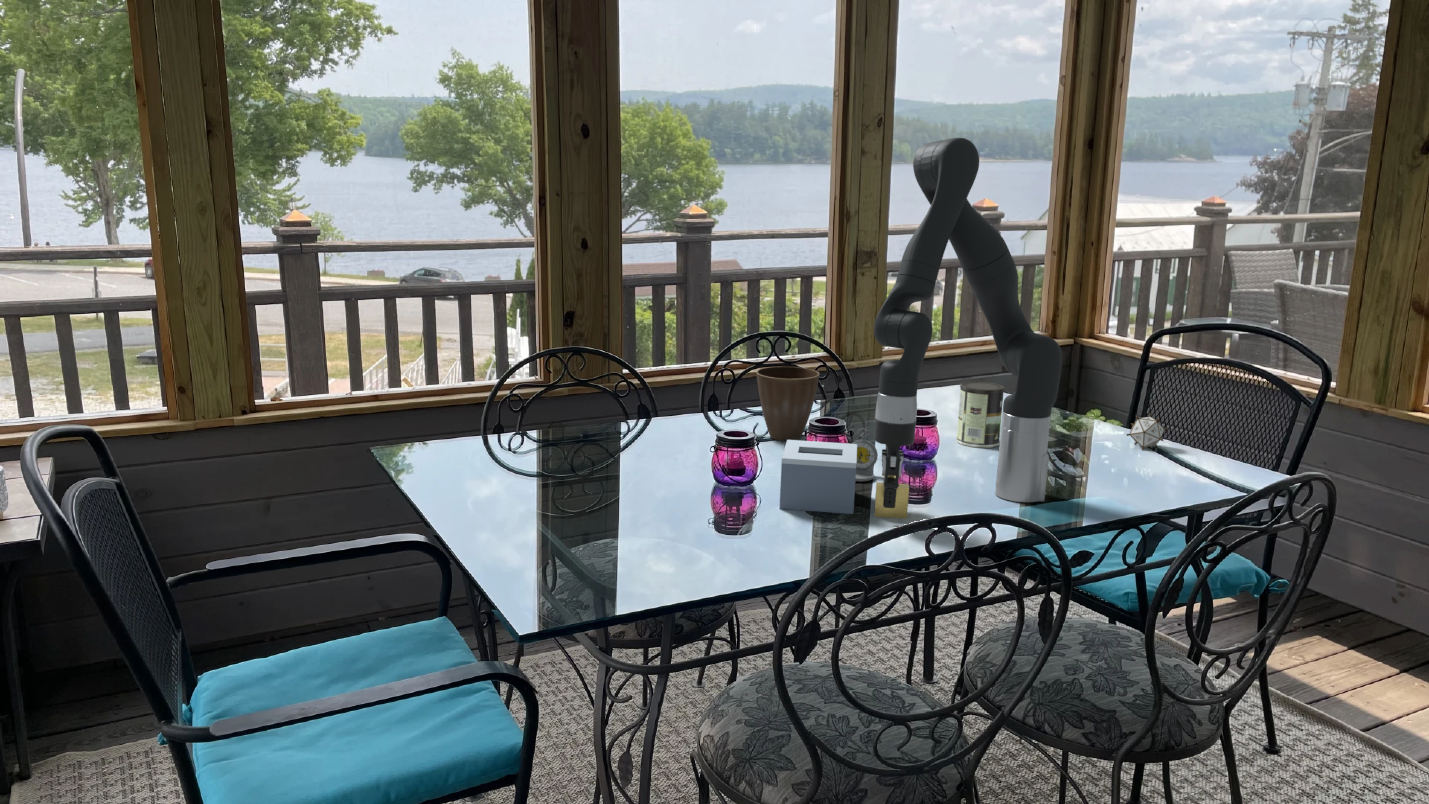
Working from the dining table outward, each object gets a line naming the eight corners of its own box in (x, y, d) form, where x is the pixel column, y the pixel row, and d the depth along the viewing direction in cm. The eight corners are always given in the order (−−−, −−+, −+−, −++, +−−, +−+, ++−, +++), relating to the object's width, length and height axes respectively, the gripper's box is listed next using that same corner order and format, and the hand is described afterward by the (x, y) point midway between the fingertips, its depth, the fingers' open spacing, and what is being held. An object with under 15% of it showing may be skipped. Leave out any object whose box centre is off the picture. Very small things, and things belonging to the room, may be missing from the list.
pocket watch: (849, 483, 219) (852, 437, 217) (834, 472, 227) (836, 427, 224) (885, 481, 221) (888, 435, 219) (869, 470, 229) (872, 425, 227)
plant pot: (794, 449, 244) (797, 381, 241) (741, 437, 253) (744, 372, 249) (827, 437, 256) (831, 372, 252) (776, 426, 264) (779, 363, 261)
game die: (1151, 464, 254) (1177, 438, 247) (1119, 451, 254) (1144, 424, 247) (1148, 438, 261) (1173, 412, 254) (1117, 425, 260) (1141, 399, 253)
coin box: (854, 491, 213) (857, 444, 211) (853, 514, 200) (856, 463, 198) (784, 487, 215) (787, 439, 213) (779, 508, 202) (781, 458, 199)
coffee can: (993, 437, 260) (998, 381, 257) (1004, 448, 250) (1009, 390, 247) (951, 436, 260) (956, 380, 257) (960, 447, 250) (965, 389, 247)
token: (906, 514, 201) (908, 484, 199) (906, 518, 198) (909, 488, 197) (874, 512, 202) (876, 482, 200) (874, 516, 199) (876, 485, 198)
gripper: (917, 427, 189) (909, 514, 192) (914, 410, 202) (907, 491, 206) (875, 424, 190) (868, 510, 193) (875, 407, 203) (869, 488, 207)
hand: (888, 500), depth 200 cm, fingers open, 8 cm apart
